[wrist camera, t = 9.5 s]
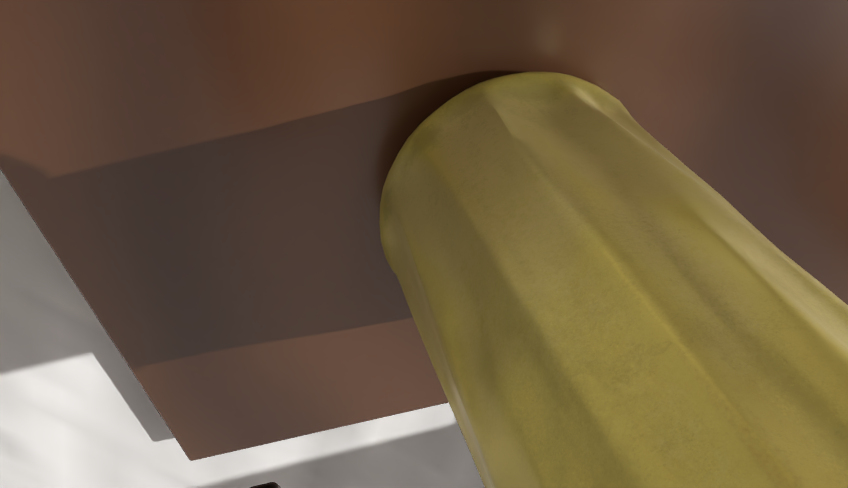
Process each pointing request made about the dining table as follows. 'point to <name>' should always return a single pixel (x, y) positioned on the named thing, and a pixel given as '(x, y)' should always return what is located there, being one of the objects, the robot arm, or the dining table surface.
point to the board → (361, 168)
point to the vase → (607, 303)
